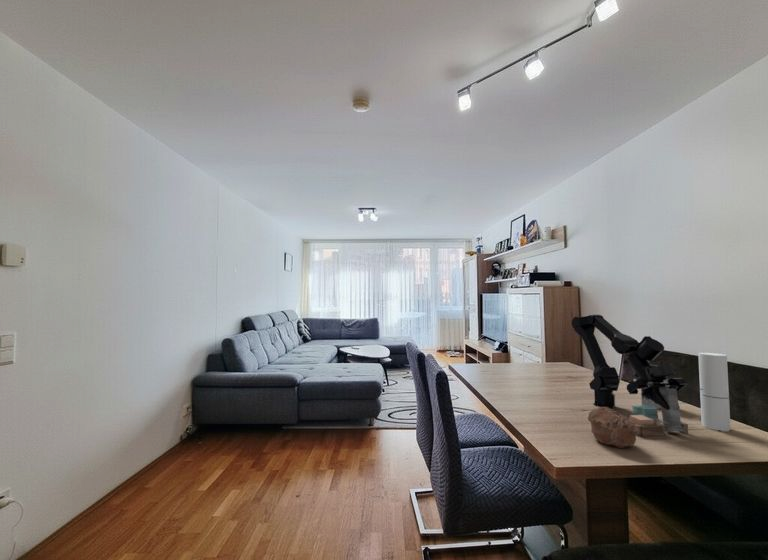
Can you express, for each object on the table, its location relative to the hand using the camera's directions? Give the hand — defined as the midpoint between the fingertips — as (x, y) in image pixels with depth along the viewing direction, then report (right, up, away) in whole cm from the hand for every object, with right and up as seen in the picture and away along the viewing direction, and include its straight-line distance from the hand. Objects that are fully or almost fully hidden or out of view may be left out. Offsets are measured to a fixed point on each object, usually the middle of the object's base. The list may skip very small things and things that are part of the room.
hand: (673, 409), depth 111 cm
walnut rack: (-5, -8, +2) cm, 10 cm away
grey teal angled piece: (-1, -8, +5) cm, 9 cm away
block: (-9, -8, +2) cm, 12 cm away
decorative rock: (-25, -8, -7) cm, 27 cm away
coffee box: (+18, -10, +30) cm, 36 cm away
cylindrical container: (+20, -9, +6) cm, 22 cm away
